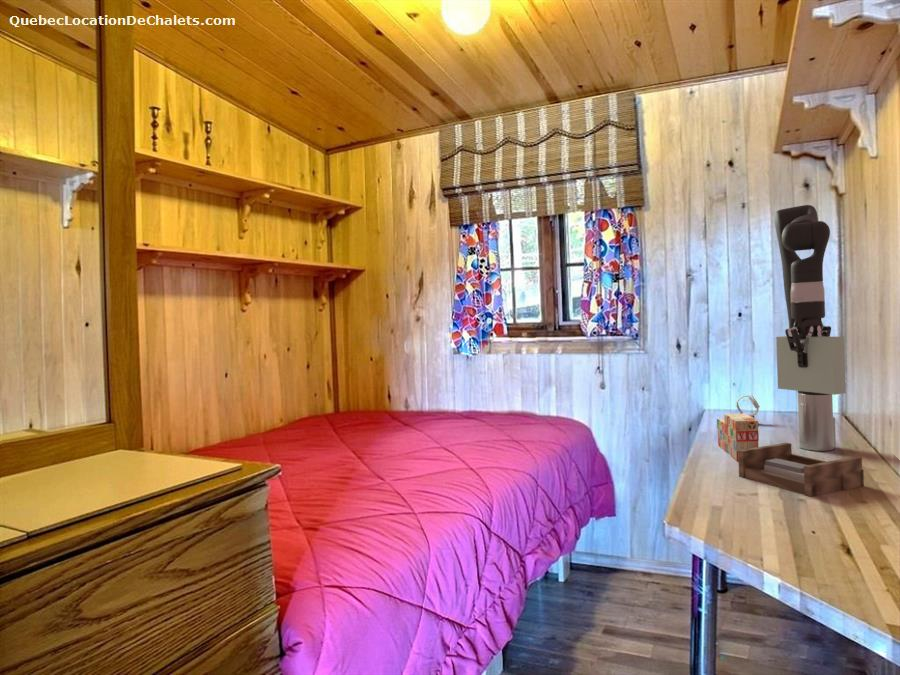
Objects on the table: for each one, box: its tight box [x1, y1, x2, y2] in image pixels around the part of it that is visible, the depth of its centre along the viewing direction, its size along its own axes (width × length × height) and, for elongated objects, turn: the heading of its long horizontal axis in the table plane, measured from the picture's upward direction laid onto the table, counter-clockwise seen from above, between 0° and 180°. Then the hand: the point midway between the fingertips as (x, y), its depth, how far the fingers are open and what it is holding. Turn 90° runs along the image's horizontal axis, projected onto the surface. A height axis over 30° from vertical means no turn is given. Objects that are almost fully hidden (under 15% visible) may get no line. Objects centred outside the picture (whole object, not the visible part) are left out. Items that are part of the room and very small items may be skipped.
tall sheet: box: [775, 335, 847, 396], centre depth 154 cm, size 4×16×14 cm, turn 20°
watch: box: [735, 394, 760, 419], centre depth 229 cm, size 6×8×11 cm
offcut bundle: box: [762, 458, 806, 482], centre depth 152 cm, size 5×15×5 cm, turn 20°
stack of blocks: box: [716, 412, 760, 462], centre depth 185 cm, size 21×6×12 cm, turn 170°
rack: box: [738, 442, 865, 497], centre depth 153 cm, size 18×21×7 cm
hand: (809, 366), depth 154 cm, fingers closed on tall sheet, 4 cm apart
